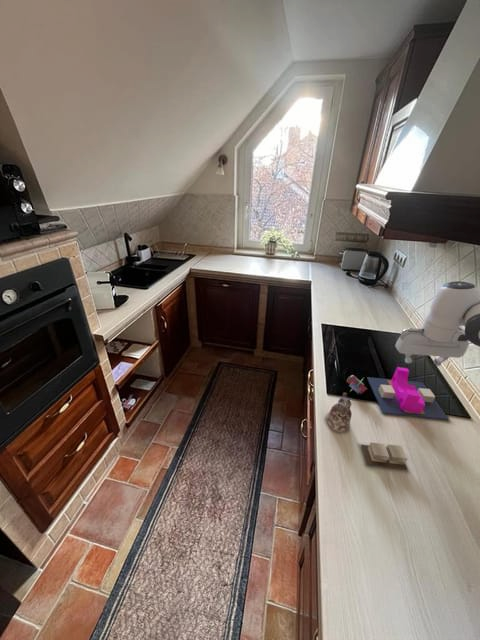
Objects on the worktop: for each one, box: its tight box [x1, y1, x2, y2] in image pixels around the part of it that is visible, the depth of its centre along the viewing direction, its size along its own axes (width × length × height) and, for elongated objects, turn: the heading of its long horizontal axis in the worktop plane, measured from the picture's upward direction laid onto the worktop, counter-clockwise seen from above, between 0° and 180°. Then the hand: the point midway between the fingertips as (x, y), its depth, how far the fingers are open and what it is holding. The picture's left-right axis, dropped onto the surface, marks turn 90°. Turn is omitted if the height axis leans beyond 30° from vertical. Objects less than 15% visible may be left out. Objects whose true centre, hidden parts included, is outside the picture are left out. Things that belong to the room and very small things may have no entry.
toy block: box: [391, 366, 425, 413], centre depth 95 cm, size 15×6×8 cm, turn 164°
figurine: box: [326, 392, 352, 433], centre depth 83 cm, size 7×7×12 cm
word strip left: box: [360, 441, 408, 471], centre depth 75 cm, size 11×6×4 cm, turn 84°
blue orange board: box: [366, 376, 450, 421], centre depth 96 cm, size 22×18×4 cm
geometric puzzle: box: [346, 374, 369, 395], centre depth 98 cm, size 7×7×8 cm
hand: (421, 363), depth 88 cm, fingers open, 8 cm apart
